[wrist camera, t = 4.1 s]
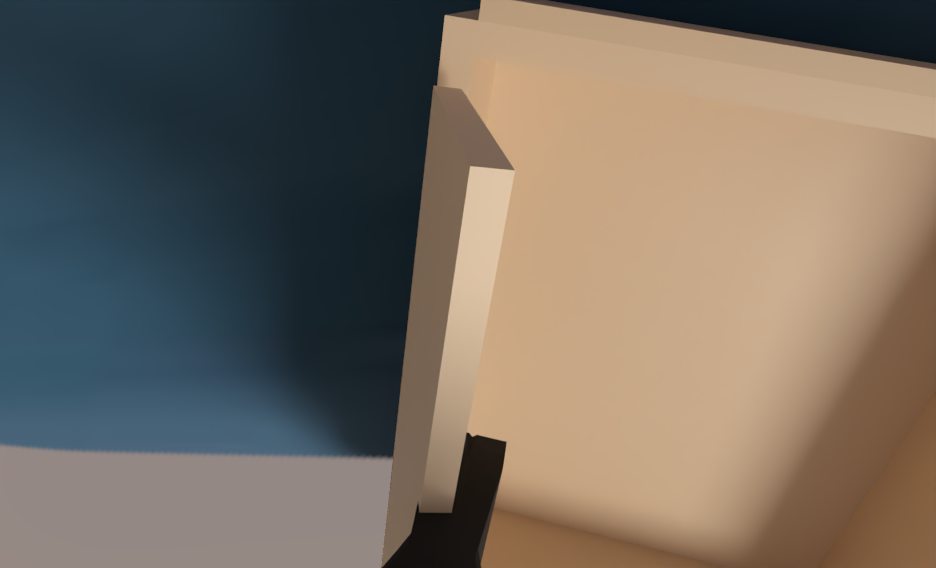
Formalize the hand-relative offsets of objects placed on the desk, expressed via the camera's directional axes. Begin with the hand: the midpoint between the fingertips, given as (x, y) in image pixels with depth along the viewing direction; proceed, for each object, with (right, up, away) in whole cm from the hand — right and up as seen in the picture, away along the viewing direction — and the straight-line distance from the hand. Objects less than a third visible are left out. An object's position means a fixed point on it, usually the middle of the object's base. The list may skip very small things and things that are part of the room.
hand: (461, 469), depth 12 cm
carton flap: (-1, 0, 0) cm, 1 cm away
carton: (+6, +2, +5) cm, 8 cm away
